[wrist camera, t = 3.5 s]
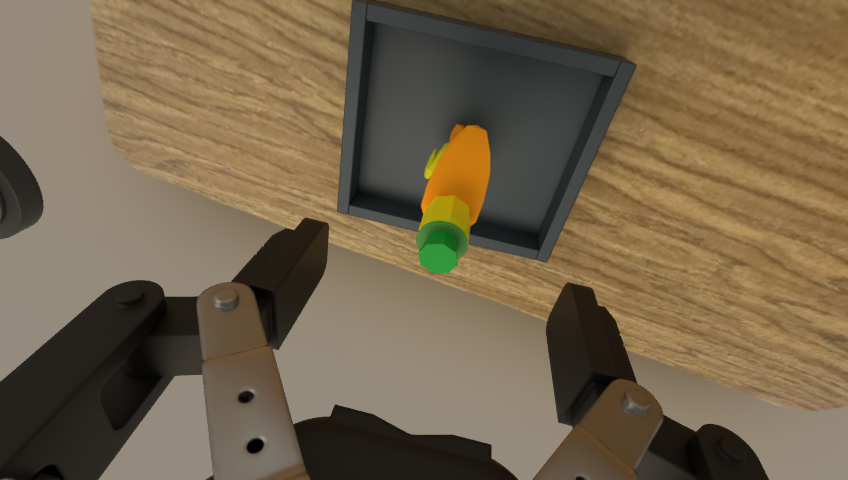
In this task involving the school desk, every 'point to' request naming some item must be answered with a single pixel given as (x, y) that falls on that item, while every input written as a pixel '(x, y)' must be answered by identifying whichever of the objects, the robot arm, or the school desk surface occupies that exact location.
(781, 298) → the school desk surface
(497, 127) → the tray
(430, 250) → the toy figure
